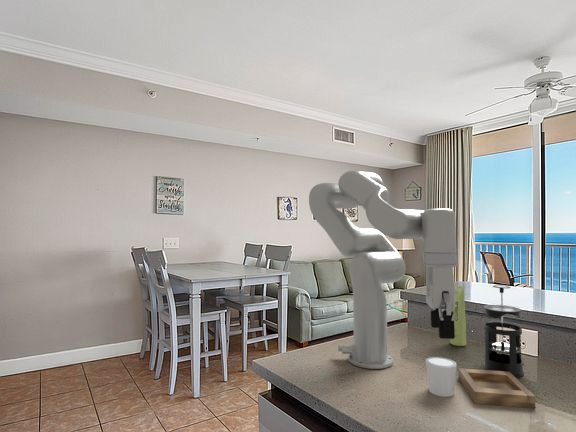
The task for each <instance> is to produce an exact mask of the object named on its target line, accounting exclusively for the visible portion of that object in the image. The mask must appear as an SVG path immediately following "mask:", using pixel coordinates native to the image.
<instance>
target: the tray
mask: <svg viewBox="0 0 576 432" xmlns="http://www.w3.org/2000/svg"><path fill="white" fill-rule="evenodd" d="M458 379H459V381H460V383H461V384H462V386H463V388H465V390H466V391H467V393H468V395H469V396H470V398H471V400H472V401H473V403H474V404H478V405H479V404H480V405H493V406H504V407H518V408H529V409H536V396H535V395H534V393H532V392H531V391H530V390H529V388H527V387H526V386H525V385H524V384H523V383H522V382H521V381H520V380H519V379H518V377H517V378H516V377H515V376H514V375H512V374H511V373H510V372H508V371H492V370H485V369H473V368H458Z"/></svg>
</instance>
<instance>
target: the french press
mask: <svg viewBox="0 0 576 432" xmlns="http://www.w3.org/2000/svg"><path fill="white" fill-rule="evenodd" d="M492 287H493V288H495V289H496V288H497V289H499V293H500V304H487V305H484V306H483V309H484V311H485V316H487V317H489V318H493V319H499V318H501V321H490V320H489V321H488V320H487V321H486V322H484V323H483V330H484V364H483V370H492V371H508V372H510V373H511V374H512V375H514V376H515V377H516V378H517V379H518V378H521V377H523V376H524V375H525V372H524V369H523V368H524V365H523V364H524V363H523V359H522V346H521V345H522V343H521V342H522V340H521V338H522V337H521V335H522V334H523V327H521V326H519V325H517V324H515V323H514V324H513V323H509V322H508V323H507V322H504V316H505V315H511V316H515V317H518V318H521V315H520V313H522V309H521V308H520V307H515V306H511V305H504V303H503V300H504V299H503V296H504V295H503V294H505V293H504V291H505V290H504V289H511V286H509V285H505V284H494V285H493V286H492ZM497 328H498V329H497ZM499 328H501V329H499ZM504 328H505V329H506V330H505V329H504ZM507 329H511V330H507ZM497 335H499V336H501V341H500V342H499V341H498V338H497ZM504 336H506V337H507V336H508V341H509V343H507V342H504Z"/></svg>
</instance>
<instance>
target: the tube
mask: <svg viewBox="0 0 576 432" xmlns="http://www.w3.org/2000/svg"><path fill="white" fill-rule="evenodd" d="M454 289H455V308H454V309H453V310H452V311H453V316H454V329H455V338H454V339H449V340H450V341H449V342H450V344H451V345H453V346H457V347H465V346H467V323H466V305H465V301H466V300H465V290H464V289H465V287H464V286H461V285H455V284H454Z"/></svg>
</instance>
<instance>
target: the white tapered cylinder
mask: <svg viewBox="0 0 576 432" xmlns="http://www.w3.org/2000/svg"><path fill="white" fill-rule="evenodd" d="M425 367H426V368H425V369H426V377H427V386H428V391H429V392H430V393H431V394H433V395H435V396H439V397H442V398H443V397H445V398H447V397H449V398H450V397H452V396H454V395H455V392H456V391H455V389H456V379H457V378H456V376H457V375H456V374H457V362H456V361H454V360H452V359H450V358H447V357H446V358H445V357H440V356H432V357H428V358H426V359H425Z"/></svg>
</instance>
